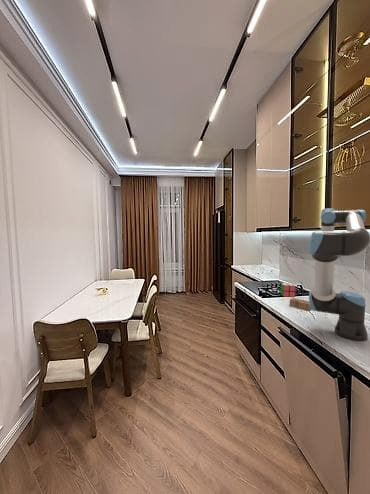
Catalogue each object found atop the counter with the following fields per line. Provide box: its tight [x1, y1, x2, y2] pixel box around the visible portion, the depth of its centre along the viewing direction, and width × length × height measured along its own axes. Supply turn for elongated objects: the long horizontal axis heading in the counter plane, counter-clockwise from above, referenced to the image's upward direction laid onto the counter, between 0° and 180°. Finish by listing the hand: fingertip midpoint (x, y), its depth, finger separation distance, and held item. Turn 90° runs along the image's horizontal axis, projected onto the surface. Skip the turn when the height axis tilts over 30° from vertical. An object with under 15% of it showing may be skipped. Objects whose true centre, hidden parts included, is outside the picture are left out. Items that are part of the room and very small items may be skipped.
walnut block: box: [288, 297, 313, 312], centre depth 179 cm, size 7×5×14 cm
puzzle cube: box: [280, 282, 296, 298], centre depth 211 cm, size 10×10×10 cm
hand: (325, 268), depth 158 cm, fingers closed
